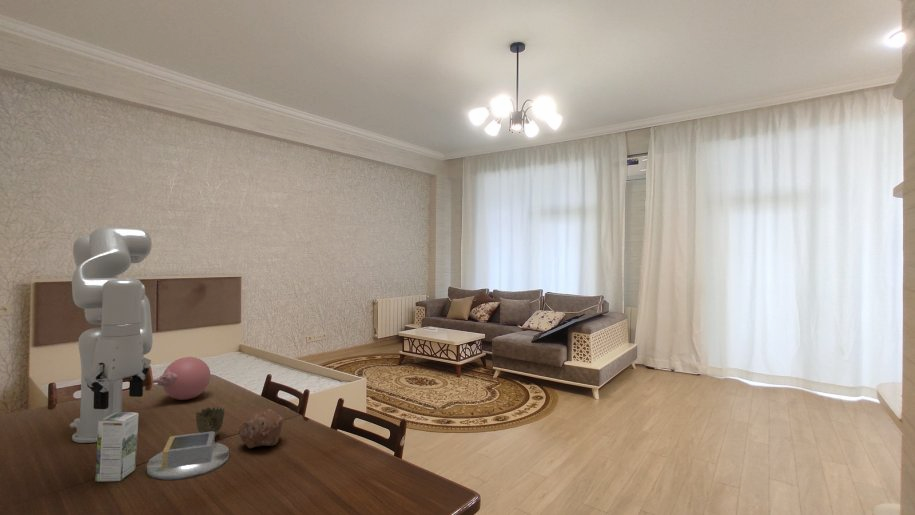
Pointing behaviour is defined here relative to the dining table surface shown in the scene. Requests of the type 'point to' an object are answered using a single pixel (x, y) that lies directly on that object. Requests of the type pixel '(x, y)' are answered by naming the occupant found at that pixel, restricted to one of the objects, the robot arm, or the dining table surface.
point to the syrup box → (116, 446)
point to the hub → (188, 457)
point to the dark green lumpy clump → (210, 420)
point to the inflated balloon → (185, 378)
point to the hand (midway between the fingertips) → (119, 402)
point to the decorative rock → (261, 429)
